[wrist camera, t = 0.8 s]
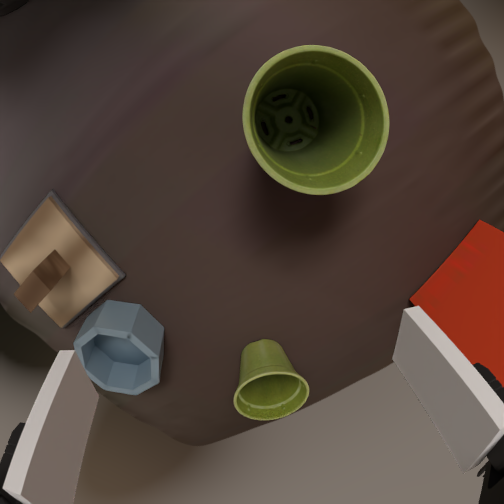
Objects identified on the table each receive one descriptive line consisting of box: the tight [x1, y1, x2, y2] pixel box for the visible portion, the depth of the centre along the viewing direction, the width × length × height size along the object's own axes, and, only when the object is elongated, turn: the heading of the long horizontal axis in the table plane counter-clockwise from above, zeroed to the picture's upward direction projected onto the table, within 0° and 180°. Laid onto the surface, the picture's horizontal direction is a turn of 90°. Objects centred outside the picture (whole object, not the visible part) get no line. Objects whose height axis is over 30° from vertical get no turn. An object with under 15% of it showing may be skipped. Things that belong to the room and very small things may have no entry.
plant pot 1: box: [234, 339, 309, 420], centre depth 40 cm, size 9×9×9 cm
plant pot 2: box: [243, 45, 389, 195], centre depth 27 cm, size 12×12×11 cm
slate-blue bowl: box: [73, 300, 164, 395], centre depth 37 cm, size 11×11×6 cm
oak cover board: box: [0, 196, 119, 328], centre depth 31 cm, size 13×13×7 cm
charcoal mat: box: [0, 189, 126, 328], centre depth 35 cm, size 14×14×1 cm
